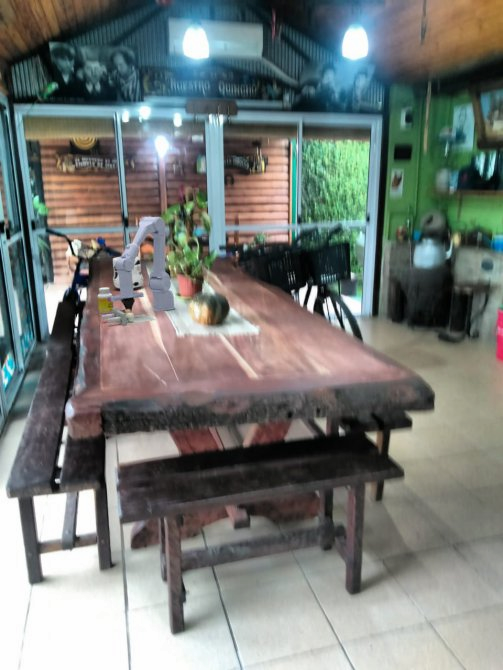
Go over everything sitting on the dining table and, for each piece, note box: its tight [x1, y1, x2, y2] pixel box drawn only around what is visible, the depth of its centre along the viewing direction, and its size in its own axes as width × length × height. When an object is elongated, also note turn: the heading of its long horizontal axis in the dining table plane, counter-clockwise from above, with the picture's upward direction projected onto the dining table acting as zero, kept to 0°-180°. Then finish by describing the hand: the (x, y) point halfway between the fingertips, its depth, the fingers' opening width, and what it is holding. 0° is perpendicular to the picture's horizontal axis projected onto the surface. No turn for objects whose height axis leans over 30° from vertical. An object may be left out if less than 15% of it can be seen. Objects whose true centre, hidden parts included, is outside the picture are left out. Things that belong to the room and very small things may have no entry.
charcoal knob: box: [101, 308, 126, 320], centre depth 232 cm, size 11×4×4 cm, turn 123°
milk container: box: [112, 256, 144, 290], centre depth 304 cm, size 17×17×18 cm
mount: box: [112, 307, 156, 326], centre depth 233 cm, size 15×14×6 cm
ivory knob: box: [106, 312, 135, 324], centre depth 226 cm, size 11×4×4 cm, turn 123°
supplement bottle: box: [97, 287, 114, 317], centre depth 243 cm, size 7×7×13 cm
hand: (129, 314), depth 236 cm, fingers closed
